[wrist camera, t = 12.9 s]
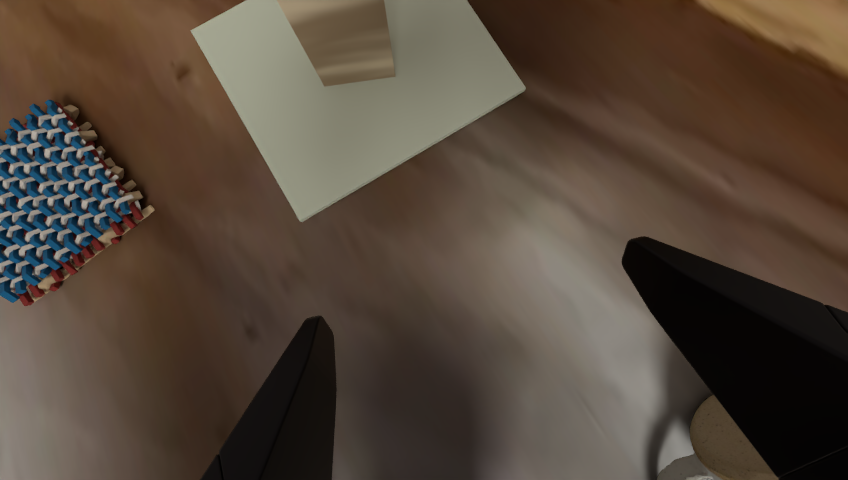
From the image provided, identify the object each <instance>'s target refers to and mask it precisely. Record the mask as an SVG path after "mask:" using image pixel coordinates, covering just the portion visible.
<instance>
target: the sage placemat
mask: <svg viewBox="0 0 848 480" xmlns="http://www.w3.org/2000/svg"><path fill="white" fill-rule="evenodd" d="M384 3H385V9H386V16H387V22H388V29H389V36H390V42H391V49H392V56H393V63H394V70H395V77H389V78H382V79H375V80H368V81H361V82H354V83H347V84H339V85H332V86H325V87H324V85H323V83H322V81H321V79H320V78H319V76H318V74H317V72H316V70H315V69H314V67H313V65H312V63H311V61H310V59H309V58H308V56H307V54H306V52H305V50H304V49H303V47H302V45H301V43H300V41H299V40H298V38H297V36H296V34H295V32H294V30H293V29H292V27H291V25H290V23H289V21H288V20H287V18H286V16H285V14H284V12H283V11H282V9H281V7H280V5H279V3H278V1H277V0H246V1H244V2H242V3H241V4H239V5H237V6H235V7H233V8H231V9H230V10H228V11H226V12H224V13H222V14H220V15H218V16H217V17H215V18H213V19H211V20H209V21H207V22H206V23H204V24H202V25H200V26H198V27H196V28H195V29H193V30H191V32H192V34H193V36H194V37H195V39H196V41H197V43H198V44H199V46H200V48H201V50H202V51H203V53H204V55H205V57H206V58H207V60H208V62H209V64H210V65H211V67H212V69H213V70H214V72H215V74H216V76H217V77H218V79H219V81H220V83H221V84H222V86H223V88H224V90H225V91H226V93H227V95H228V97H229V98H230V100H231V102H232V104H233V105H234V107H235V109H236V111H237V112H238V114H239V116H240V118H241V119H242V121H243V123H244V125H245V126H246V128H247V130H248V132H249V133H250V135H251V137H252V139H253V140H254V142H255V144H256V146H257V147H258V149H259V151H260V153H261V154H262V156H263V158H264V159H265V161H266V163H267V165H268V166H269V168H270V170H271V172H272V173H273V175H274V177H275V179H276V180H277V182H278V184H279V186H280V187H281V189H282V191H283V193H284V194H285V196H286V198H287V200H288V201H289V203H290V205H291V207H292V208H293V210H294V212H295V214H296V215H297V217H298V219H299V221H301V222H303V221H305V220H306V219H308V218H310V217H312V216H313V215H315V214H317V213H318V212H320V211H322V210H323V209H325V208H327V207H329V206H330V205H332V204H334V203H335V202H337V201H339V200H341V199H342V198H344V197H346V196H347V195H349V194H351V193H352V192H354V191H356V190H358V189H359V188H361V187H363V186H364V185H366V184H368V183H369V182H371V181H373V180H375V179H376V178H378V177H380V176H381V175H383V174H385V173H386V172H388V171H390V170H392V169H393V168H395V167H397V166H398V165H400V164H402V163H403V162H405V161H407V160H409V159H410V158H412V157H414V156H415V155H417V154H419V153H420V152H422V151H424V150H426V149H427V148H429V147H431V146H432V145H434V144H436V143H437V142H439V141H441V140H443V139H444V138H446V137H448V136H449V135H451V134H453V133H454V132H456V131H458V130H460V129H461V128H463V127H465V126H466V125H468V124H470V123H472V122H473V121H475V120H477V119H478V118H480V117H482V116H483V115H485V114H487V113H489V112H490V111H492V110H494V109H495V108H497V107H499V106H500V105H502V104H504V103H506V102H507V101H509V100H511V99H512V98H514V97H516V96H517V95H519V94H521V93H523V92H524V91H525V89H526V87H525V86H524V84H523V83H522V81H521V80H520V78H519V77H518V75H517V74H516V72H515V71H514V69H513V68H512V66H511V65H510V64H509V62H508V61H507V59H506V58H505V56H504V55H503V53H502V52H501V50H500V49H499V47H498V46H497V44H496V43H495V41H494V40H493V38H492V37H491V35H490V34H489V32H488V31H487V29H486V28H485V26H484V25H483V23H482V22H481V20H480V19H479V17H478V16H477V15H476V13H475V12H474V10H473V9H472V7H471V6H470V4H469V3H468V1H467V0H384Z"/></svg>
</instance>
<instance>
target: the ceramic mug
mask: <svg viewBox="0 0 848 480" xmlns="http://www.w3.org/2000/svg"><path fill="white" fill-rule="evenodd" d="M690 439H691V442H692V446H693V449H694V451H695V453H694V454H693V455H690V456H686V457H682V458H679V459H676V460H674V461H673V462H672V463H671V464H670V465H668V466H666V468H665V469H662V471H661V472H660V474H659V475H658V477H657V480H702V479H705V478H710V479H711V480H778V477H776V476H775V474H774V473H773V472H772V470H771V469H770V468H769V467H768V465H767V464H766V463H765V461H764V460H763V459H762V457H761V456H760V455H759V453H758V452H757V451H756V450H755V448H754V447H753V446H752V444H751V443H750V442H749V440H748V439H747V438H746V436H745V435H744V434H743V433H742V431H741V430H740V429H739V427H738V426H737V425H736V423H735V422H734V421H733V419H732V418H731V417H730V416H729V414H728V413H727V412H726V410H725V409H724V408H723V406H722V405H721V404H720V402H719V401H718V400H717V398H716V397H715V396H714V395H712V396H710V397H709V398H707V399H706V400H705V401H704V402H703V403H702V404H701V405H700V406H699V408H698V409H697V410H696V412H695V414H694V417H693V419H692V422H691V426H690Z"/></svg>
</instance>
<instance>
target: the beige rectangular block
mask: <svg viewBox="0 0 848 480" xmlns="http://www.w3.org/2000/svg"><path fill="white" fill-rule="evenodd" d="M277 1H278V3H279V5H280V7H281V9H282V11H283V12H284V14H285V16H286V18H287V20H288V21H289V23H290V25H291V27H292V29H293V30H294V32H295V34H296V36H297V38H298V40H299V41H300V43H301V45H302V47H303V49H304V50H305V52H306V54H307V56H308V58H309V59H310V61H311V63H312V65H313V67H314V69H315V70H316V72H317V74H318V76H319V78H320V79H321V81H322V83H323V85H324V87H325V86H332V85H339V84H347V83H354V82H361V81H368V80H375V79H382V78H389V77H395V70H394V63H393V56H392V49H391V42H390V36H389V29H388V22H387V16H386V9H385V3H384V0H277Z"/></svg>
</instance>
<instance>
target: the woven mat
mask: <svg viewBox="0 0 848 480" xmlns="http://www.w3.org/2000/svg"><path fill="white" fill-rule="evenodd" d="M45 103H46V105H47V106H48V108H47V113H48V115H46V114H45V113H44V112H43V111H42V110H40V107H39V106H37V105H35V104H32V105H31V106H30V107H29V108H30V110H31V111H32V112H33V113H34V114H35V115H36V116H37V118H36V117H35V116H34V115H31V114H28V115H27V116H25V118H26V119H27V120H28V121H27V123H26V124H24V125H23V126H22V125H21V124H20V122H19V121H18V120H16V119H14V118H13V119H12V120H10V121H9V123H10V125H11V126H12V127H13V128H14V129H15V130H16V131H14V129H7V130H6V131H4V132H5V133H6V134H7V138H6V142H4V141H2V140H1V139H0V297H1V296H2V297H4V298H5V299H7V300H9V301H10V302H12V303H13V302H15V301H16V300H18V299H20V300H21V302H22V303H23V305H24V306H28V305H31V304H32V303H34V302H35V301H37V300H38V299H40V298H41V297H42V296H44V295H45V294H47V293H48V292H49V291H50V290H51V291H56V290H57V289H59V287H60V284H61V281H62V280H65V279H66V278H67V277H68V276H70V275H73V274H75V273H77V272H78V271H77V270H78V269H79V268H80V267H81V266H83V265H84V264H85V263H87V262H88V261H89V260H91V259H92V258H93V257H95V256H96V255H97V254H98V253H100V252H101V251H102V250H104V249H105V248H106V247H108V246H109V245H111V244H112V243H114V244H117V243H118V242H119V241H120V237H119V236H121V235H124V234H125V233H126V232H127V231H128V230H130V229H132V228H134V227H136V226H137V224H138V223H139V222H141V221H142V220H143V219H145V218H146V217H147V216H149V215H150V214H151V213H152V212H153V211H154V210H155V209H154V208H153V207H152V205H149V206H148V207H146V208H145V209H143V210H141V207H140V204H139V202H138V200H140V199H142V198H143V197H142V195H141V193H140V191H135V192H129V191H130V190H131V189H133V188H134V187H135V186H136V184H135V182H134V181H133V180H131V181H129V182H127V183H126V184H124V185H121V184H120V182H119V180H121V179H122V178H123V176H124V169H122V168H120V167H118V166H115V163H114V162H113V160H112V159H111V158H108V159H106V160H103V159H104V155H103V154H104V153H105V152H106V151H105V150H104V148H103V147H102V146H99V147H98V148H96V149H95V148H94V147H95V143H94V142H93V141H95V140H97V135H96V133H95V131H94V130H91V131H87V130H88V129H89V128H90V127H92V125H91V124H90V122H86V123H84V124H83V125H81V126H79V127H78V125H77V124H76V123H75V122H74V120H76V118H77V117H78V115H79V113H80V112H79V109H78V108H76V107H74V106H73V105H69V106H65V107H62V106H61V104H59V103H57V102H54V101H52V100H48V101H46V102H45ZM37 125H38V127H37ZM16 140H17V141H18V142H17V141H16ZM6 143H7V144H6ZM113 166H114V167H113ZM110 168H111V169H110ZM7 169H9V170H8V171H7ZM16 202H17V203H18V204H16ZM129 213H132V214H133V215H134V216H133V217H130V216H129V215H128V214H129ZM121 220H123V223H121V224H119V222H120V221H121ZM110 226H111V227H110ZM23 234H24V235H25V237H22V236H23ZM90 243H92V245H93V246H92V247H91V248H90V246H89V245H88V244H90ZM53 255H54V256H53ZM70 258H71V259H73V260H74V261H72V262H71V263H70V261H69V259H70ZM41 259H42V260H43V261H42V260H41ZM61 266H63V267H64V268H63V269H59V268H60V267H61ZM32 268H33V269H34V270H32ZM3 275H4V276H3ZM28 287H29V289H30V290H31V292H32V293H31V294H29V292H28V291H27V288H28Z"/></svg>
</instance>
